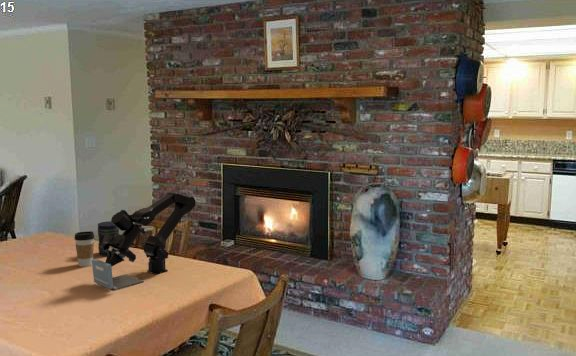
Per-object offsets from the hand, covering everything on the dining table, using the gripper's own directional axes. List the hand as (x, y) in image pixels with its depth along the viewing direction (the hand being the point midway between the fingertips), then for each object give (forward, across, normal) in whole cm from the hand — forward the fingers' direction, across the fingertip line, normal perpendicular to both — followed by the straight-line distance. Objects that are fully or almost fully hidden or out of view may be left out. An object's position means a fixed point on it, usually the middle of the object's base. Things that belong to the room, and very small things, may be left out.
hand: (104, 269), depth 201 cm
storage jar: (-14, -42, +24) cm, 50 cm away
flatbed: (0, 0, +10) cm, 10 cm away
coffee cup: (-2, -33, +12) cm, 35 cm away
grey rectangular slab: (+5, 0, +4) cm, 6 cm away
